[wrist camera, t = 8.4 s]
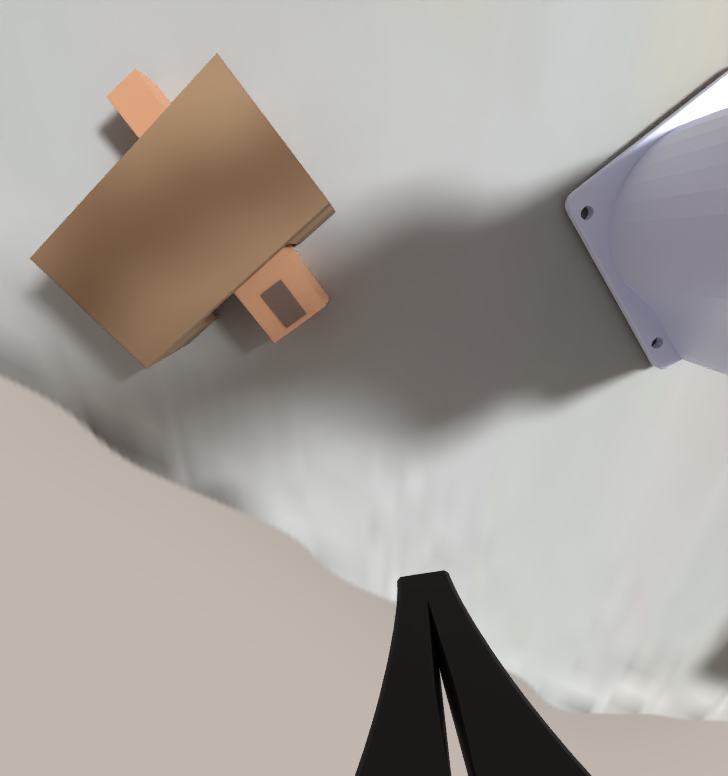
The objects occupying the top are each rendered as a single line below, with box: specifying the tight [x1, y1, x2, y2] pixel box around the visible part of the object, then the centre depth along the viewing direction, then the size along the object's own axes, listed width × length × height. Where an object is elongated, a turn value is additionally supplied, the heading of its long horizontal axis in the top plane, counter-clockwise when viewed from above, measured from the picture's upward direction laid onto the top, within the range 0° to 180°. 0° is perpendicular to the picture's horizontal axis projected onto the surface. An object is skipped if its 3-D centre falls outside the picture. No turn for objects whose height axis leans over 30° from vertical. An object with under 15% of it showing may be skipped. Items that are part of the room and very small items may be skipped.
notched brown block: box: [30, 54, 335, 368], centre depth 15 cm, size 5×9×4 cm, turn 129°
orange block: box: [107, 69, 330, 343], centre depth 15 cm, size 10×3×2 cm, turn 35°
